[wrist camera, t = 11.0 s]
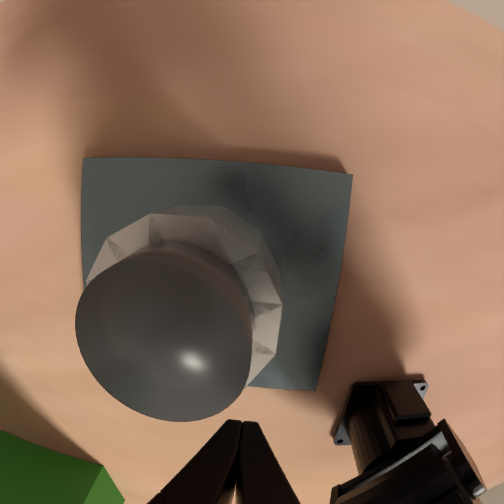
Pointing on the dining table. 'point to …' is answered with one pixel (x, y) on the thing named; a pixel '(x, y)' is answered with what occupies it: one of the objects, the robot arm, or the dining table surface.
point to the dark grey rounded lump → (168, 332)
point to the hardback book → (50, 476)
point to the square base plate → (233, 241)
